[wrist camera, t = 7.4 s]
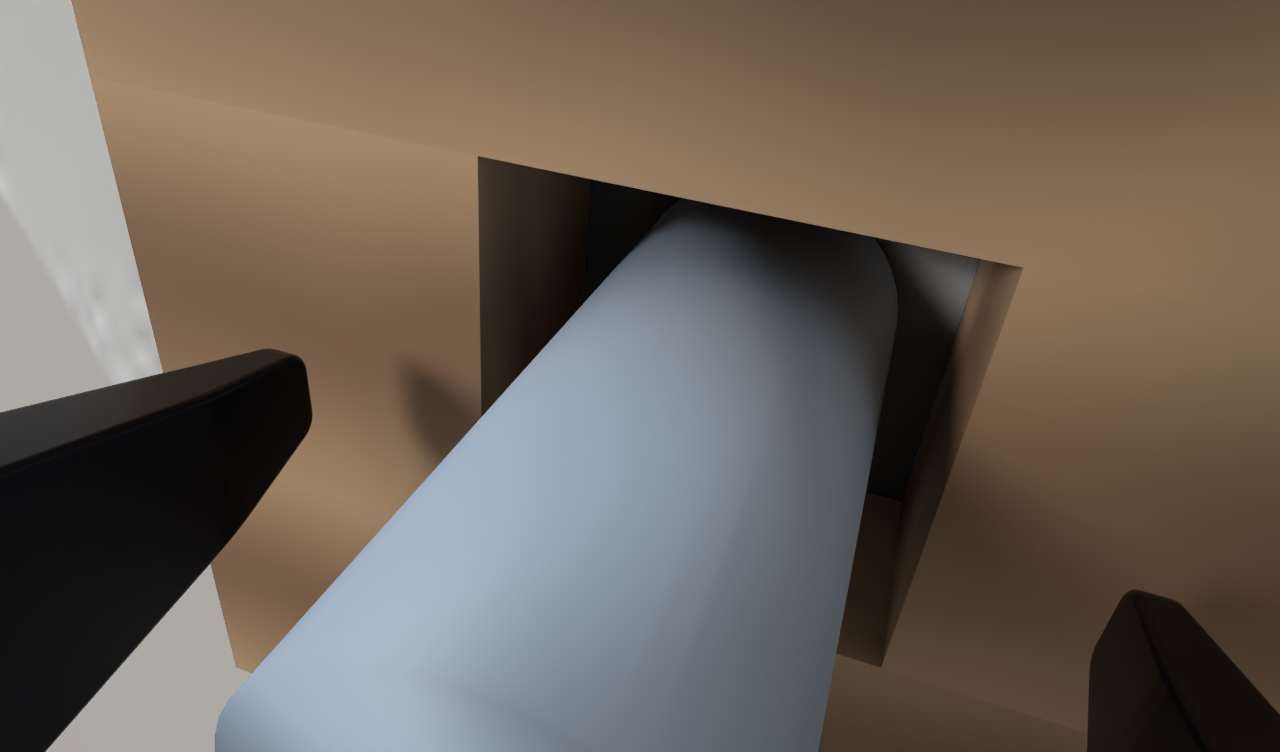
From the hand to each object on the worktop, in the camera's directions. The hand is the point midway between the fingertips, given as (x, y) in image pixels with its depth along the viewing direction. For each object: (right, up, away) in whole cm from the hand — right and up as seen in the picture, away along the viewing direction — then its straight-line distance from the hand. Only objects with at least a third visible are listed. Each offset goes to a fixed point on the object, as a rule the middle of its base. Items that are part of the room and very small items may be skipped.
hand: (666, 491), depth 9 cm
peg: (+2, +2, +4) cm, 5 cm away
